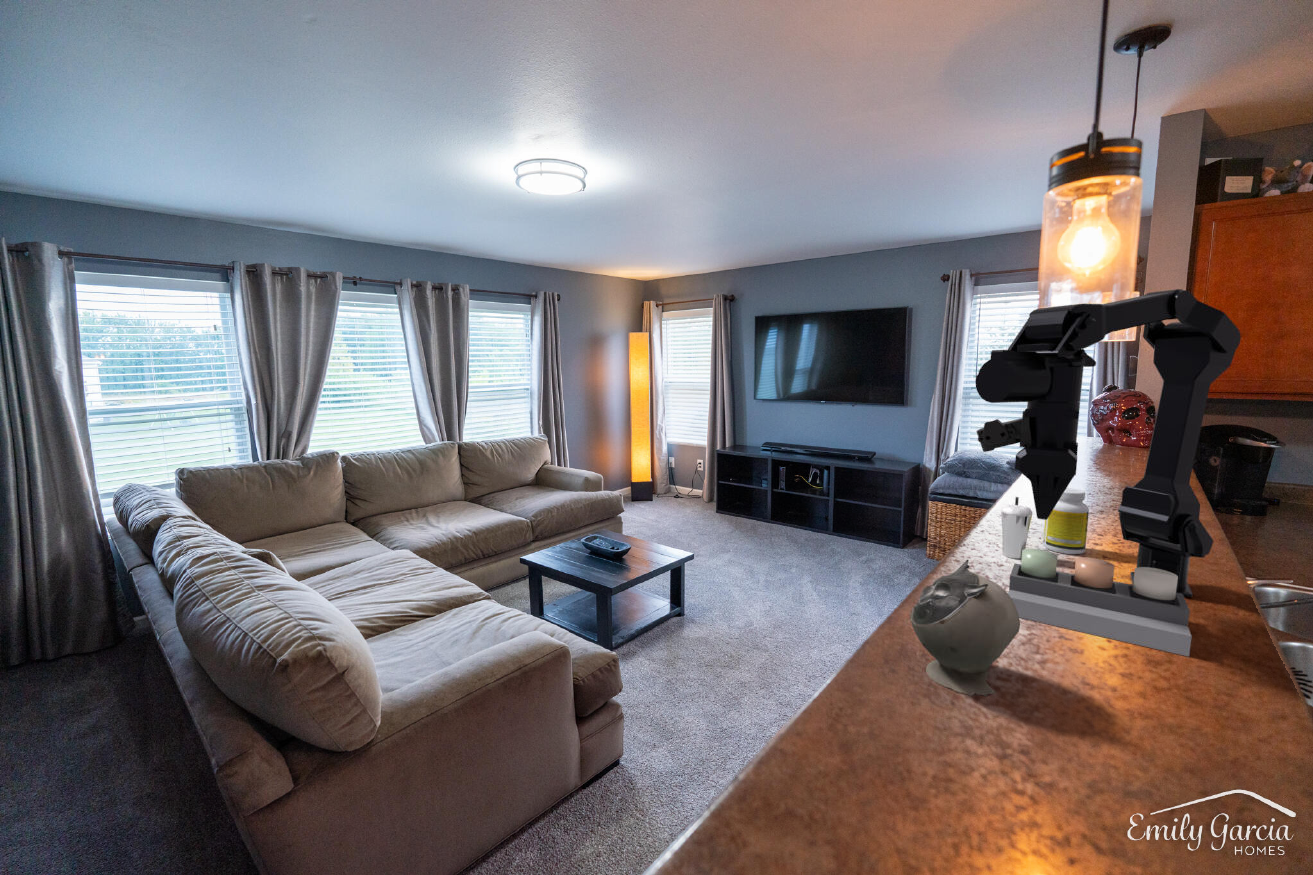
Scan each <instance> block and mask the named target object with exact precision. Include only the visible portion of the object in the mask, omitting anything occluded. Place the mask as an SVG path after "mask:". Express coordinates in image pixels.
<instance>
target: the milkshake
mask: <svg viewBox="0 0 1313 875" xmlns="http://www.w3.org/2000/svg"><path fill="white" fill-rule="evenodd" d="M1019 499H1020V498H1019V497H1018V496H1015V499H1014V505H1013V504H1012V505H1011V504H1007V505H1005V506H1004V507H1002V508H1001V510H1000V512H1001V529H1002V531H1001V532H1002V533H1001V534H1002V535H1001V537H1002V538H1001V541H1002V546H1001V547H1002V556H1004V557H1006V558H1009V559H1012V560H1013V559H1015V560H1017V559H1018V560H1022V550H1024V549H1027V548H1026V547H1027V542H1028V537H1029V535H1028V534H1029V531H1030V527H1031V522H1032V518H1033V510H1032V509H1031V507H1028V506H1023V505H1019Z"/></svg>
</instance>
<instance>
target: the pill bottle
mask: <svg viewBox="0 0 1313 875" xmlns="http://www.w3.org/2000/svg"><path fill="white" fill-rule="evenodd" d="M1085 499H1086V492H1085V491H1084V490H1081V489H1077V488H1071V487H1070V488H1069V487H1067V488H1066V490H1065V491H1064V493H1063V494H1062V496H1061V498H1060V499H1059V501H1058V502H1057V504H1056V506H1055V507H1054V509H1053V511H1052V512H1051V514H1050V516H1049V517H1048V519H1047V520H1044V530H1043V541H1042V542H1043V543H1042V544H1043V547H1044V548H1046V549H1047V550H1048V551H1050V552H1053V553H1054V552H1056V553H1059V554H1060V553H1061V554H1065V555H1066V554H1067V555H1081V554H1084V553H1085V552H1086V545H1087V535H1088V525H1089V516H1090V515H1089V514H1090V513H1089V512H1090V509H1089V506H1088V505H1087V504H1086V503H1084V501H1085Z"/></svg>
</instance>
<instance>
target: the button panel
mask: <svg viewBox="0 0 1313 875" xmlns="http://www.w3.org/2000/svg"><path fill="white" fill-rule="evenodd" d="M1074 574H1075V573H1072V572H1071V573H1069V572H1064V571H1058V570H1056V576H1055V577H1049V578H1046V577H1038V576H1033V575H1030V574H1027V573H1024V572H1023V571H1022V570H1021V563H1020V564H1019V563H1013V567H1012V569H1011V572H1010V576H1009V586H1008V587H1009V588H1008V591H1007V593H1008V595H1009V596H1010V597H1011V599H1012V601H1013V602H1014V604H1015V607H1016V609H1017V612H1018V616H1019V619H1024V620H1029V621H1033V622H1038V623H1041V624H1045V625H1050V626H1055V627H1059V628H1062V629H1067V630H1068V629H1069V630H1072V631H1077V632H1081V633H1085V634H1089V635H1093V636H1099V637H1103V638H1106V639H1110V640H1114V641H1115V640H1116V641H1120V642H1124V643H1128V644H1133V645H1137V646H1142V647H1146V648H1150V649H1154V650H1159V651H1163V652H1167V653H1172V654H1175V655H1179V656H1180V655H1181V656H1184V657H1190V650H1191V645H1192V644H1191V643H1192V636H1193V635H1192V634H1191V631H1190V628H1189V619H1190V611H1191V610H1190V608H1189V605H1188V603H1187V601H1186V599H1185V596H1183V594H1181V593H1176V597H1175V599H1174V600H1160V599H1154V598H1150V597H1146V596H1143V595H1140V594H1138V593H1136V592H1134V591H1133V585H1132V583H1131V584H1130V583H1125V582H1119V581H1115V580H1113V585H1112V587H1111V588H1096V587H1091V586H1087V585H1083V584H1081V583H1078V582H1077V581H1075V580H1074Z"/></svg>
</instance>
